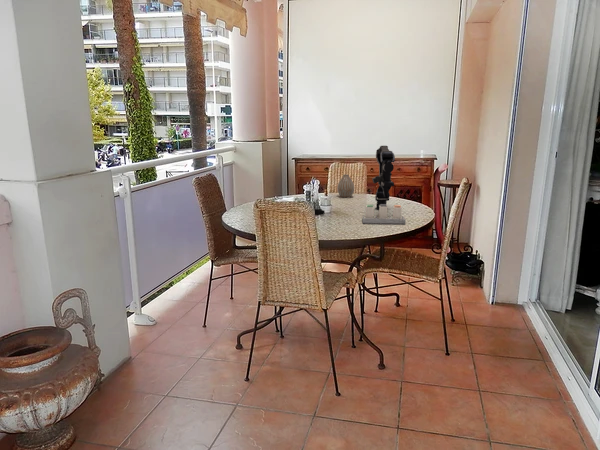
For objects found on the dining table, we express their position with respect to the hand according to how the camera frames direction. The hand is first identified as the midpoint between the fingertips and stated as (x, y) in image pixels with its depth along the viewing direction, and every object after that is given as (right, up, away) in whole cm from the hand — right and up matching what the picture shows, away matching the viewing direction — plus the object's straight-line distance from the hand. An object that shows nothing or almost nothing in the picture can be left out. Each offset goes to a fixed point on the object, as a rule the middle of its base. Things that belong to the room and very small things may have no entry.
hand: (385, 196), depth 273 cm
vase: (-17, +4, +70) cm, 73 cm away
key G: (-12, -16, -11) cm, 23 cm away
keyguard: (-4, -15, -14) cm, 21 cm away
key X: (-3, -15, -10) cm, 19 cm away
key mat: (-4, -16, -12) cm, 20 cm away
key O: (+4, -16, -13) cm, 21 cm away
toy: (-54, -12, +10) cm, 56 cm away
